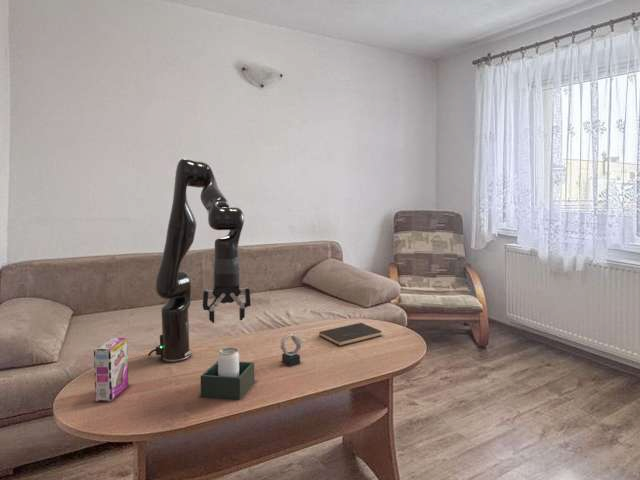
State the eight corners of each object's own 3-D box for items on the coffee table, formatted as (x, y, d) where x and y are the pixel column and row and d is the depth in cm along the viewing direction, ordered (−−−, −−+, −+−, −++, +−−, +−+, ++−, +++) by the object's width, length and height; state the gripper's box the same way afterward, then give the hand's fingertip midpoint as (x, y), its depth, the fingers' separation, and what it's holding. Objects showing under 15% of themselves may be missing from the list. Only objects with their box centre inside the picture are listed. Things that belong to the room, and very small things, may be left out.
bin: (200, 396, 137) (200, 375, 136) (218, 379, 149) (218, 360, 148) (240, 399, 136) (239, 378, 135) (254, 381, 148) (254, 362, 147)
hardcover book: (381, 336, 197) (381, 331, 197) (339, 346, 183) (339, 341, 183) (360, 326, 210) (360, 322, 209) (319, 336, 195) (319, 331, 195)
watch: (304, 362, 166) (304, 334, 164) (285, 367, 160) (285, 338, 159) (296, 357, 170) (296, 330, 168) (277, 362, 164) (277, 334, 163)
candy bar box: (112, 401, 132) (109, 349, 130) (95, 402, 132) (92, 349, 130) (129, 385, 143) (127, 337, 141) (113, 385, 143) (111, 337, 141)
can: (233, 391, 139) (232, 355, 137) (214, 389, 140) (213, 353, 138) (243, 383, 145) (242, 348, 144) (225, 380, 146) (224, 346, 145)
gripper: (248, 267, 144) (248, 315, 146) (201, 269, 138) (202, 319, 140) (251, 272, 137) (251, 322, 139) (203, 274, 131) (203, 326, 133)
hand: (227, 320), depth 140 cm, fingers open, 8 cm apart
